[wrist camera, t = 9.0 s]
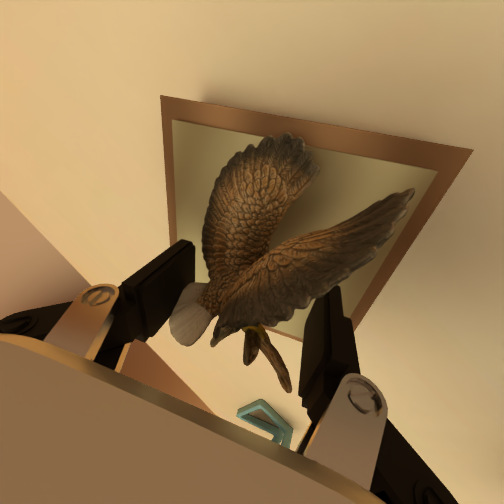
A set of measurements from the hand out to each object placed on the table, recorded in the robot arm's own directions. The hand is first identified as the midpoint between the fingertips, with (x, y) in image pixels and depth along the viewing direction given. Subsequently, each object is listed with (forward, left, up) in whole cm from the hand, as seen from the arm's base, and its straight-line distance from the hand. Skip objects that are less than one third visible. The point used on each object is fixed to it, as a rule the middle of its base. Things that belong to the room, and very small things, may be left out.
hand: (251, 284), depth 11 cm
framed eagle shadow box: (0, 0, -8) cm, 8 cm away
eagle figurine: (0, -2, -2) cm, 3 cm away
